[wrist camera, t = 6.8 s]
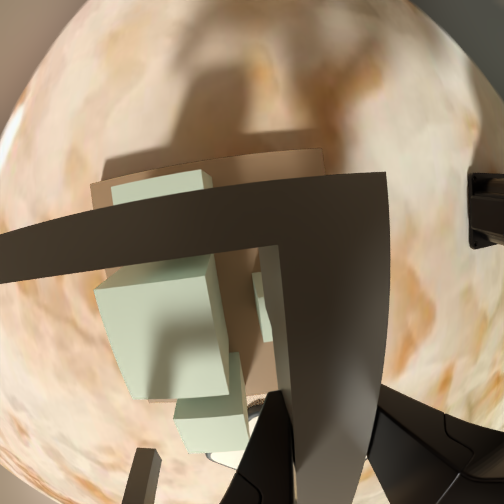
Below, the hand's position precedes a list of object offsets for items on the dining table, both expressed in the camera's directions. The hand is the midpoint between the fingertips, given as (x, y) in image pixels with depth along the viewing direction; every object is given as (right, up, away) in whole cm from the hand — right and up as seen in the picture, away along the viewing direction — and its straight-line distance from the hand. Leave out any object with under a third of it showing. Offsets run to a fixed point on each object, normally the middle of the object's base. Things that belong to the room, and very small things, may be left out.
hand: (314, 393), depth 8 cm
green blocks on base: (-4, +2, +11) cm, 12 cm away
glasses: (-4, 0, +2) cm, 4 cm away
